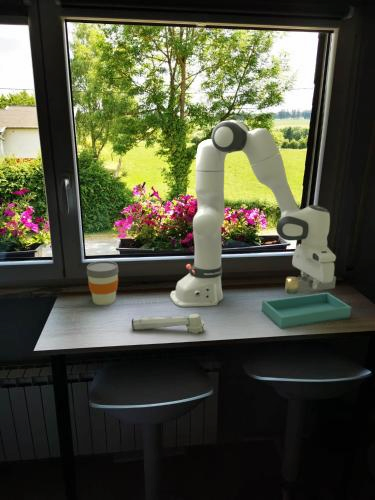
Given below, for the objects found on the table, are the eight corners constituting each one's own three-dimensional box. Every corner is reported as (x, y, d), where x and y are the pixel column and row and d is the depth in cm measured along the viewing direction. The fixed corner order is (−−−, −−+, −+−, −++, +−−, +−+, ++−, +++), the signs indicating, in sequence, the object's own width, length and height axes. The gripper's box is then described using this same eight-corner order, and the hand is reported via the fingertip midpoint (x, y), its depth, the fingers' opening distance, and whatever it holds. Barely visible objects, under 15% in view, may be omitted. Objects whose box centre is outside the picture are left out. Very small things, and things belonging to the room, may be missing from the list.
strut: (327, 283, 143) (328, 271, 142) (335, 288, 139) (337, 276, 138) (282, 289, 138) (283, 277, 136) (289, 294, 133) (290, 282, 132)
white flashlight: (133, 315, 131) (202, 308, 129) (136, 331, 133) (204, 325, 131) (130, 322, 126) (202, 315, 124) (133, 339, 128) (204, 333, 126)
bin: (280, 329, 131) (281, 317, 130) (261, 311, 144) (262, 301, 142) (349, 317, 140) (351, 307, 138) (325, 302, 152) (327, 292, 151)
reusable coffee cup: (112, 291, 159) (111, 258, 155) (124, 302, 149) (123, 267, 145) (84, 297, 153) (81, 264, 148) (94, 309, 143) (92, 273, 138)
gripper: (290, 243, 142) (286, 276, 146) (323, 259, 124) (319, 297, 128) (304, 241, 144) (300, 274, 148) (339, 258, 125) (334, 294, 130)
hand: (309, 285), depth 138 cm, fingers closed on strut, 4 cm apart
